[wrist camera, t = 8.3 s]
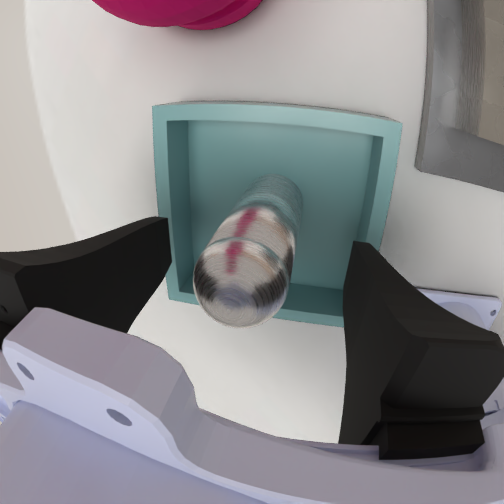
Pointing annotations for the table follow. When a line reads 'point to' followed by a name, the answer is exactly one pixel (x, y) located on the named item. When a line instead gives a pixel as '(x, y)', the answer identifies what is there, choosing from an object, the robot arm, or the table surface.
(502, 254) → the table surface
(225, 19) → the pepper mill
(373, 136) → the tray
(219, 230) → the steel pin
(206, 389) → the table surface
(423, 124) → the hitch plate
